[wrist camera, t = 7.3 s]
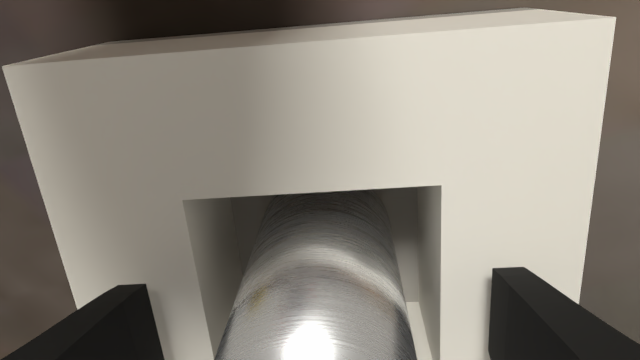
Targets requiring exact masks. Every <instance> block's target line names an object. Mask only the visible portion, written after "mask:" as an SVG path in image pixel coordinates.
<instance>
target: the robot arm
mask: <svg viewBox="0 0 640 360" xmlns="http://www.w3.org/2000/svg"><path fill="white" fill-rule="evenodd" d="M488 352H489V355H490V359H491V360H640V344H638V343H636V342H635V341H633V340H631V339H630V338H628V337H627V336H625V335H624V334H622V333H621V332H619V331H617V330H616V329H614V328H613V327H611V326H610V325H608V324H607V323H605V322H604V321H602V320H601V319H599V318H598V317H596V316H595V315H593V314H592V313H590V312H589V311H587V310H586V309H584V308H583V307H581V306H580V305H579V304H577V303H576V302H574V301H573V300H571V299H570V298H569V297H567V296H566V295H564V294H563V293H561V292H560V291H559V290H557V289H556V288H554V287H553V286H551V285H550V284H549V283H547V282H546V281H544V280H543V279H541V278H540V277H539V276H537V275H536V274H534V273H533V272H531V271H530V270H528V269H526V268H525V267H507V268H492V286H491V304H490V323H489V342H488ZM1 360H165V359H164V355H163V351H162V347H161V343H160V339H159V335H158V331H157V327H156V323H155V319H154V315H153V311H152V306H151V302H150V298H149V294H148V290H147V286H146V284H127V285H117V286H115V287H114V288H112V289H110V290H108V291H106V292H105V293H103V294H101V295H100V296H98V297H97V298H95V299H93V300H92V301H90V302H89V303H87V304H86V305H84V306H83V307H81V308H80V309H78V310H77V311H75V312H74V313H72V314H71V315H69V316H68V317H66V318H65V319H63V320H62V321H60V322H59V323H57V324H56V325H54V326H53V327H51V328H50V329H48V330H47V331H45V332H43V333H42V334H40V335H39V336H37V337H36V338H34V339H33V340H31V341H30V342H28V343H27V344H25V345H24V346H22V347H20V348H19V349H17V350H16V351H14V352H12V353H11V354H9V355H8V356H6V357H4V358H3V359H1Z"/></svg>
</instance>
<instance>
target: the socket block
mask: <svg viewBox="0 0 640 360" xmlns="http://www.w3.org/2000/svg"><path fill="white" fill-rule="evenodd" d="M615 22H616V17H609V16H599V15H590V14H581V13H571V12H562V11H552V10H543V9H533V8H514V9H502V10H490V11H477V12H465V13H453V14H441V15H429V16H417V17H404V18H392V19H380V20H368V21H356V22H344V23H331V24H319V25H307V26H295V27H283V28H270V29H258V30H246V31H234V32H222V33H210V34H197V35H185V36H173V37H161V38H149V39H136V40H124V41H112V42H106V43H102V44H97V45H93V46H89V47H84V48H80V49H75V50H71V51H67V52H62V53H58V54H53V55H49V56H45V57H40V58H36V59H31V60H27V61H23V62H18V63H14V64H9V65H5V66H2V69H3V72H4V75H5V78H6V81H7V85H8V88H9V91H10V94H11V98H12V101H13V104H14V107H15V110H16V114H17V117H18V120H19V123H20V126H21V130H22V133H23V136H24V139H25V143H26V146H27V149H28V152H29V155H30V159H31V162H32V165H33V168H34V171H35V175H36V178H37V181H38V184H39V188H40V191H41V194H42V197H43V200H44V204H45V207H46V210H47V213H48V216H49V220H50V223H51V226H52V229H53V233H54V236H55V239H56V242H57V245H58V249H59V252H60V255H61V258H62V261H63V265H64V268H65V271H66V274H67V278H68V281H69V284H70V287H71V290H72V294H73V297H74V300H75V303H76V306H77V310H78V309H80V308H81V307H83V306H84V305H86V304H87V303H89V302H90V301H92V300H93V299H95V298H97V297H98V296H100V295H101V294H103V293H105V292H106V291H108V290H110V289H112V288H114V287H115V286H117V285H127V284H146V286H147V290H148V294H149V298H150V302H151V306H152V311H153V315H154V319H155V323H156V327H157V331H158V335H159V339H160V343H161V347H162V351H163V355H164V359H165V360H214V359H215V356H216V353H217V350H218V347H219V344H220V341H221V339H222V336H223V333H224V330H225V327H226V324H227V321H228V318H229V316H230V313H231V310H232V307H233V304H234V301H235V298H236V295H237V293H238V290H239V287H240V284H241V281H242V278H243V275H244V273H245V270H246V267H247V264H248V261H249V258H250V255H251V252H252V250H253V247H254V244H255V241H256V238H257V235H258V232H259V229H260V227H261V224H262V221H263V218H264V215H265V212H266V210H267V207H268V205H269V203H270V201H271V199H272V198H273V196H274V195H279V194H297V193H314V192H332V191H349V190H367V189H372V190H373V191H374V192H375V193H376V194H377V195H378V197H379V198H380V199H381V201H382V203H383V204H384V206H385V209H386V211H387V214H388V218H389V223H390V228H391V232H392V237H393V242H394V247H395V252H396V257H397V262H398V267H399V272H400V277H401V282H402V287H403V292H404V297H405V301H406V306H407V311H408V316H409V321H410V326H411V331H412V336H413V341H414V346H415V351H416V356H417V360H491V359H490V355H489V352H488V342H489V323H490V304H491V286H492V268H507V267H525V268H526V269H528V270H530V271H531V272H533V273H534V274H536V275H537V276H539V277H540V278H541V279H543V280H544V281H546V282H547V283H549V284H550V285H551V286H553V287H554V288H556V289H557V290H559V291H560V292H561V293H563V294H564V295H566V296H567V297H569V298H570V299H571V300H573V301H574V302H576V303H577V304H579V298H580V290H581V282H582V275H583V267H584V259H585V252H586V244H587V236H588V229H589V221H590V213H591V206H592V198H593V190H594V183H595V175H596V168H597V160H598V152H599V145H600V137H601V129H602V122H603V114H604V106H605V99H606V91H607V83H608V76H609V68H610V60H611V53H612V45H613V37H614V30H615Z"/></svg>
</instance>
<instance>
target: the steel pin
mask: <svg viewBox="0 0 640 360" xmlns="http://www.w3.org/2000/svg"><path fill="white" fill-rule="evenodd" d="M214 360H417V356H416V351H415V346H414V341H413V336H412V331H411V326H410V321H409V316H408V311H407V306H406V301H405V297H404V292H403V287H402V282H401V277H400V272H399V267H398V262H397V257H396V252H395V247H394V242H393V237H392V232H391V228H390V223H389V218H388V214H387V211H386V209H385V206H384V204H383V203H382V201H381V199H380V198H379V197H378V195H377V194H376V193H375V192H374V191H373V190H372V189H367V190H349V191H332V192H314V193H297V194H279V195H274V196H273V198H272V199H271V201H270V203H269V205H268V207H267V210H266V212H265V215H264V218H263V221H262V224H261V227H260V229H259V232H258V235H257V238H256V241H255V244H254V247H253V250H252V252H251V255H250V258H249V261H248V264H247V267H246V270H245V273H244V275H243V278H242V281H241V284H240V287H239V290H238V293H237V295H236V298H235V301H234V304H233V307H232V310H231V313H230V316H229V318H228V321H227V324H226V327H225V330H224V333H223V336H222V339H221V341H220V344H219V347H218V350H217V353H216V356H215V359H214Z"/></svg>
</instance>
